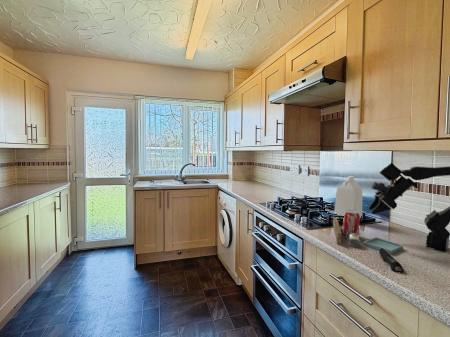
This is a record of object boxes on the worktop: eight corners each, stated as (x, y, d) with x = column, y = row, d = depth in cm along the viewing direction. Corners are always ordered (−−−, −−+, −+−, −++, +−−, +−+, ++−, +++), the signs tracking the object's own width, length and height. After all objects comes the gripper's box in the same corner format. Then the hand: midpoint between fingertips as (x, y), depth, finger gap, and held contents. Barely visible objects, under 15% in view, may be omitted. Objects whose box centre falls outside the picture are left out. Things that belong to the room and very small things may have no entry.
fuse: (359, 244, 109) (360, 234, 108) (355, 246, 107) (356, 236, 106) (352, 242, 112) (352, 232, 111) (347, 243, 110) (348, 233, 109)
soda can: (362, 238, 117) (363, 213, 116) (348, 238, 116) (350, 213, 115) (352, 232, 124) (353, 209, 123) (339, 233, 123) (340, 209, 122)
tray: (402, 249, 105) (403, 245, 105) (390, 254, 99) (390, 250, 99) (375, 240, 114) (375, 237, 114) (362, 245, 108) (363, 241, 108)
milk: (353, 223, 140) (356, 178, 138) (333, 218, 149) (336, 176, 147) (362, 220, 148) (365, 177, 146) (342, 215, 157) (345, 175, 154)
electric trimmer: (387, 255, 99) (387, 248, 99) (404, 274, 84) (405, 265, 84) (376, 254, 100) (377, 247, 100) (392, 272, 85) (392, 263, 85)
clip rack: (352, 227, 133) (352, 218, 132) (361, 247, 105) (362, 236, 105) (332, 225, 136) (333, 216, 136) (337, 244, 109) (337, 233, 108)
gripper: (379, 174, 123) (355, 195, 128) (387, 177, 106) (359, 202, 111) (398, 190, 120) (373, 211, 125) (410, 196, 103) (379, 220, 108)
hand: (370, 211), depth 117 cm, fingers open, 9 cm apart
